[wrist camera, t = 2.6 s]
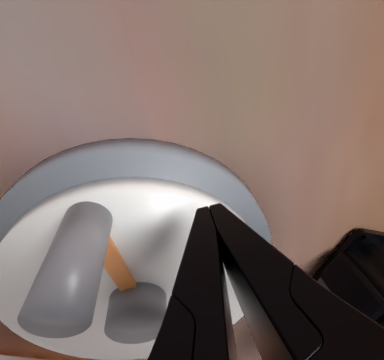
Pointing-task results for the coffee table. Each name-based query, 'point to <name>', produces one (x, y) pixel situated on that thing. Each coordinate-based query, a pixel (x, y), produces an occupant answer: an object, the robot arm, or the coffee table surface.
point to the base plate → (130, 167)
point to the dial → (99, 266)
